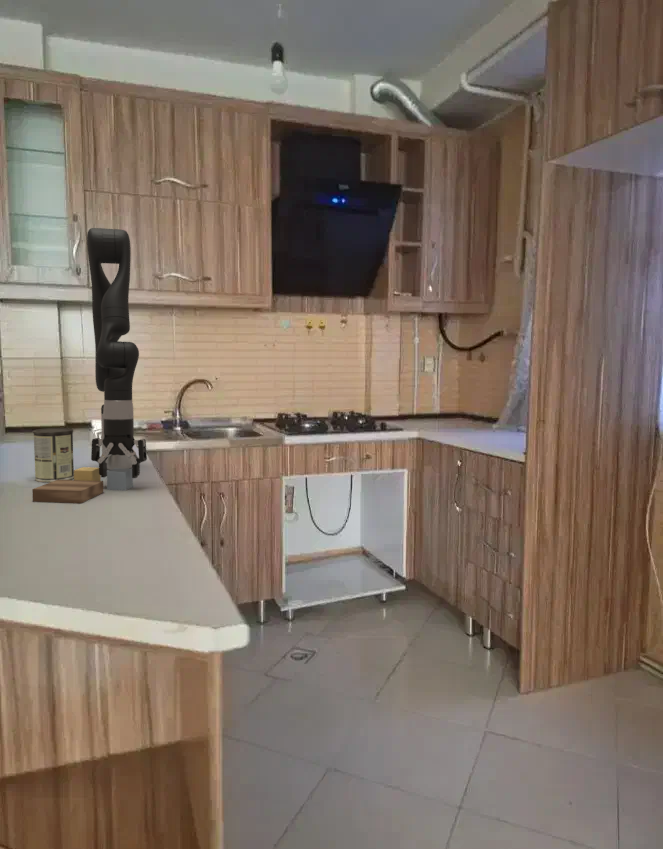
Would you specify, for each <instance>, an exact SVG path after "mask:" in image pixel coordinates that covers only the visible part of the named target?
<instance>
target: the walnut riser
mask: <svg viewBox="0 0 663 849" xmlns="http://www.w3.org/2000/svg"><path fill="white" fill-rule="evenodd" d="M31 491H32V502H38V503H60V504H61V503H62V504H63V503H64V504H68V503H69V504H82V503H85V502H87V501H89V500H91V499H93V498H95V497H97V496H99V495H101V494H103V493H104V481H103V480H101V481H84V480H74V479H71V480H56V481H53V482H47V483H45V484H42V485H40V486H38V487H35V488H32V490H31Z"/></svg>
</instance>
